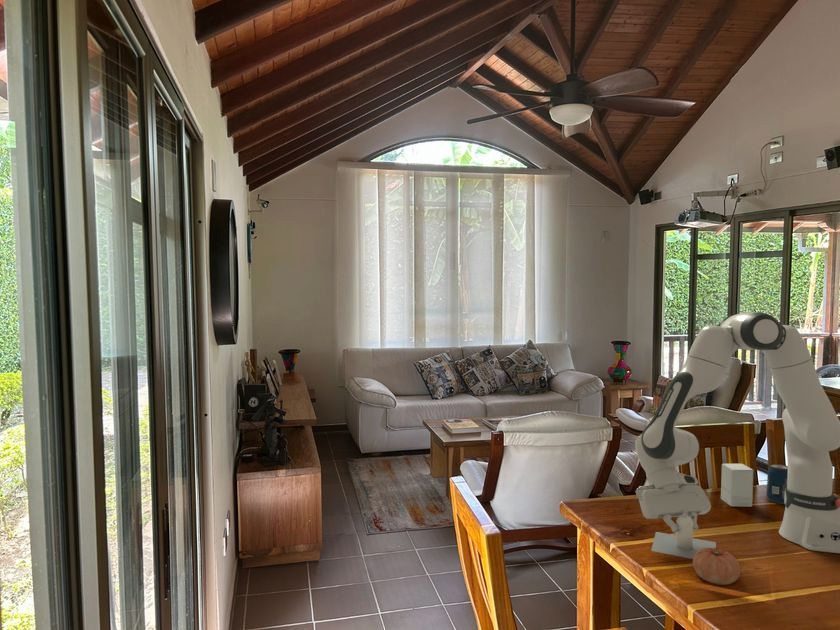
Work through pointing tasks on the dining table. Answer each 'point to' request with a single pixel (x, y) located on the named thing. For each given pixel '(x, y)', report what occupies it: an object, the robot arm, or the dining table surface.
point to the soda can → (777, 482)
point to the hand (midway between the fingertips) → (686, 530)
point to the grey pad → (668, 546)
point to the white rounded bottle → (684, 532)
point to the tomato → (716, 566)
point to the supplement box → (737, 485)
